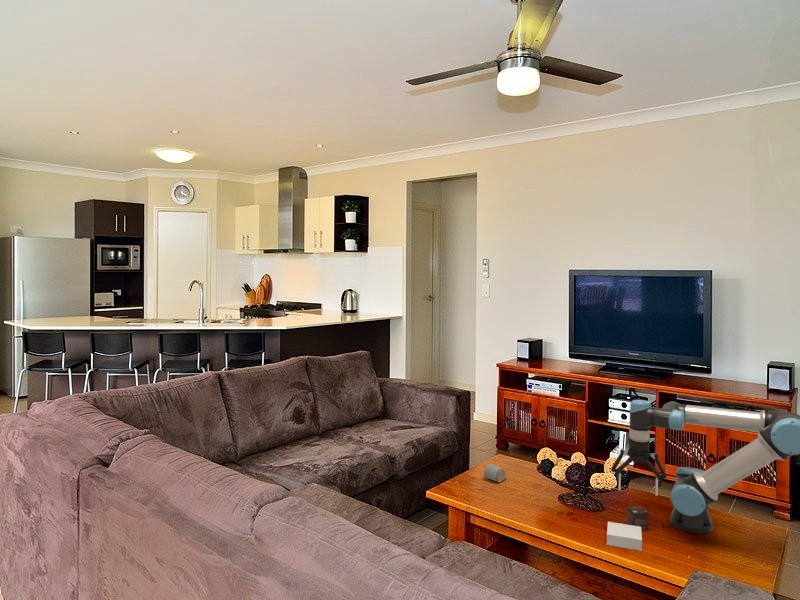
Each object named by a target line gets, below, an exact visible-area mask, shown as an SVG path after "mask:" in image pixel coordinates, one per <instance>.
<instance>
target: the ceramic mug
mask: <svg viewBox="0 0 800 600" xmlns="http://www.w3.org/2000/svg"><path fill="white" fill-rule="evenodd" d="M483 475H484V477H485V478H486V479H487V478H488V479H487V480H489V479H491V480H490V481H492V480H494V481H493V482H495V481H502V480H503V481H504V480H506V479H507V478H506V477H508V476H507V475H506V471H505V469H503V468H502V467H501V466H498V465H496V464H494V463H488V464H487V465H486V466H485V468H484V473H483ZM505 478H506V479H505ZM503 481H502V482H503Z"/></svg>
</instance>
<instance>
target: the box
mask: <svg viewBox="0 0 800 600" xmlns="http://www.w3.org/2000/svg"><path fill="white" fill-rule="evenodd" d="M626 517H627V521H626V522H627V524H626V525H633V526H639V527H641V531H649V517H650V516H649V511H648V510H646V509H645V508H644V507H643V506H627V516H626Z"/></svg>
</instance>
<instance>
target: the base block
mask: <svg viewBox="0 0 800 600" xmlns="http://www.w3.org/2000/svg"><path fill="white" fill-rule="evenodd" d="M606 530H607V531H606V546H612V547H617V548H623V549H629V550H634V551H641V552H642V551H643V537H642V536H643V533H642V530H641V527H639V526H633V525H628V524H625V523H620V522H612V521H607V529H606Z"/></svg>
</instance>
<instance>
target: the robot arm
mask: <svg viewBox="0 0 800 600" xmlns="http://www.w3.org/2000/svg"><path fill="white" fill-rule="evenodd" d="M629 408H630V410H629V433H628V434H629V436H628V438H629V439H628V450H626V449H624V448H621V449H619V450H620V451H619V455H618V457H617V458H616V459H615V461H614V462H613V464H612V466H611V467H610V468H611V469H610V470H611V472H613V473H615V482H618V489H617V490H618V491H621V489H622V488H621V487H622V486H621V485H622V483H621V482H622V481H621V480H622V471H623V470H625V468H626V467H628V465H630V464H632V462H633V463H635V464H637V463H639V464H642V465H643V464H646V465H647V467H648V468H649V469H650V470H651V471H652V473H653V474H654V475H655V476H656V477H655V487H654V488H655V491H654V492H655V493H654V494H655V496H658V495H659V488H661V487H662V480H663V479H664V480H666V479H667V474H666V472H665V470H664V468H663V465H662V463H661V461H660V459H659V455H658V452H653V453H651V452H650V440H651V438H650V437H651V427H655V428H660V429H661V428H662V429H666V430H673V431H683V430H684V428H685V425H686V424H687V425H695V426H704V427H712V428H717V429H718V428H721V429H725V430H726V429H727V430H735V431H736V430H737V431H744V432H745V431H746V432H753V433H758V434H757V438H756V439H754V440H752V441H750V442H749V443H748V444H746V445H744V446H743V447H741V448H740V449H738V450H737V451H735V452H733V453H732V454H730V455H729V456H727V457H726V458H724V459H722V460H721V461H718V463H715V464H714V465H712V466H711V467H709V468H707V469H706V470H704V469H700V468H696V467H689V466H680V467H677V468H676V472H675V475H676V476H675V482H674V485H673V488H672V489H671V491H670V500H671V503H672V506H673V509H672V512H671V514H670V520H669V521H670V524H671V525H672V526H673V527H674V528H676V529H678V530H680V531H684V532H687V533H692V534H699V535H700V534H701V535H703V534H705V535H706V534H709V533H712V532H713V526H714V524H713V520H712V517H711V515H710V512H709V506H710V505H712V504H714V503H715V502H716V501H718V498H719V494H720V493H722V492H724V491H726V490H727V489H728V488H730V487H732V486H734V485H736V484H737V483H739V482H741V481H742V480H744V479H745V478H747V477H749V476H750V475H753V474H754V473H756V472H758V471H759V470H761V469H762V468H764V467H765V466H767V465H769V464H771V463H773V461H776V460H779V461H786V460H787V459H788V458H790V457H792V456H798V455H800V415H799V414H797V413H795V412H790V411H782V410H781V411H779V410H767V409H766V410H765V409H763V410H761V411H752V410H751V411H750V410H741V409H740V410H739V409H729V408H723V407H722V408H719V407H711V406H701V405H693V404H692V405H691V404H683V403H681V404H680V403H679V402H676V401H669V402H666V403H665V404H663V406H662V407H653V406H652V404H651V402H650V401H648V400H644V399H632V401H630V407H629ZM626 455H628V458H627V459H626V460H625V461H624V462H623V463H622V464H620V462H621V460H622V459H623V458H624V456H626ZM650 458H652V459H653V460H654V461H655V464H656V465H657V467H658V470H659V471H660V472H659V471H658V470H657V469H656V468H655V466H654V465H653V464H652V462H651V461H650V460H649V459H650ZM619 464H620V465H619ZM618 466H619V467H618Z"/></svg>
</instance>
